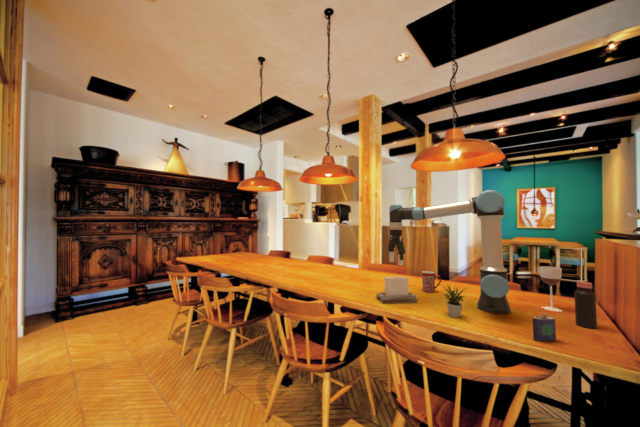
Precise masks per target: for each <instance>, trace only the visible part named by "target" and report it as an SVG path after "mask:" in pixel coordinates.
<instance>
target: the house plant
mask: <svg viewBox="0 0 640 427" xmlns="http://www.w3.org/2000/svg"><path fill="white" fill-rule="evenodd" d="M456 284H457V283H455V284H454V287H453V290H452V289H451V286H450V285H449V284H447V285H446V287H447V288H446V287H444V285H442V284H441V283H440V284H439V286H440V285H441V286H442V287H441V289H442V290H443V291H444V292H445V293H443V294H442V296H444V298H445V300H448V301H446V307H447V312H448V315H449V316H450V317H452V318H461V313H462V308H463V304H462V303H464V298H465V297H467V296H464V295H461V294H462V293H463V292H464V291H465V290H466V289H468V287H466V288H463V289H462V290H460V292H459V286H457V287H456ZM455 287H456V288H455ZM460 301H461V302H460Z"/></svg>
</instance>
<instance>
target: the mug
mask: <svg viewBox="0 0 640 427" xmlns="http://www.w3.org/2000/svg"><path fill="white" fill-rule="evenodd" d="M437 277H438V278H439V282H438V283H437V284H436V283H435V280H436V279H437ZM441 277H442V276H440V275H439V274H436V272H435V271H432V270H431V271H429V270H423V271H421V279H422V291H423V292H424V293H430V294H431V293H435V290H436V288H438V287H439V286H440V284H441V282H442V278H441ZM435 285H436V286H435Z"/></svg>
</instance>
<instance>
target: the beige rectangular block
mask: <svg viewBox="0 0 640 427" xmlns="http://www.w3.org/2000/svg"><path fill="white" fill-rule="evenodd" d="M384 292H385V296H398V295H408V292H409V278H408V277H407V276H384Z"/></svg>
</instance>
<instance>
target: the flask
mask: <svg viewBox="0 0 640 427" xmlns="http://www.w3.org/2000/svg"><path fill="white" fill-rule="evenodd" d="M541 314H542V315H539V316H537V315H535V316H533V317H532V318H531V319H532V333H533V341H535V342H538V343H550V342H556V341H557V332H556V318H555V317H553V316H548V315H547V314H546V313H543V312H542V313H541Z"/></svg>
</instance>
